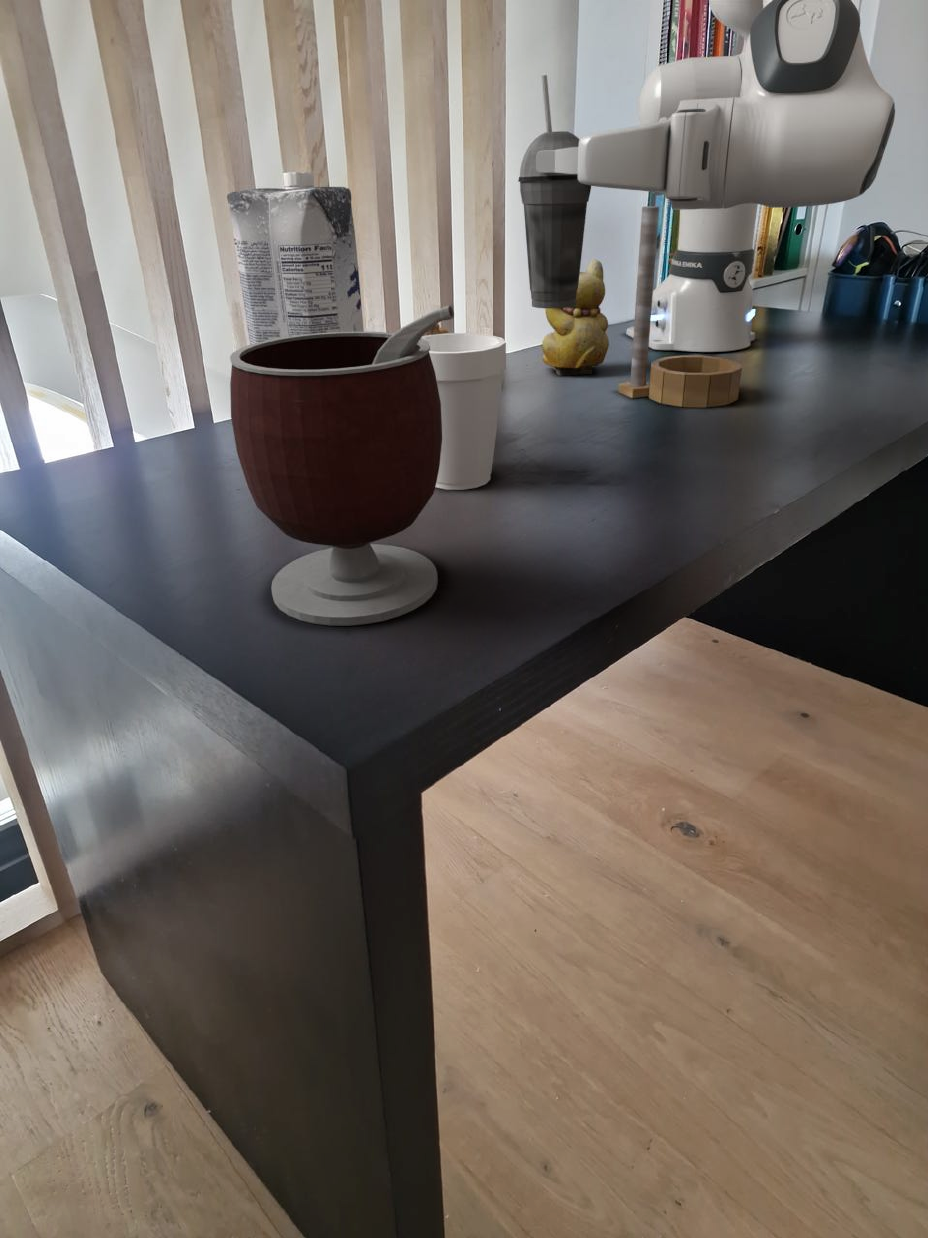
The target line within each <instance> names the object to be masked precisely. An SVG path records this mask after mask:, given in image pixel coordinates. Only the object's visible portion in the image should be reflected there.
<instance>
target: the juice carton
mask: <svg viewBox="0 0 928 1238" xmlns="http://www.w3.org/2000/svg"><path fill="white" fill-rule="evenodd" d="M282 175H283V186H284V188H274V187H273V188H271V187H270V188H269V187H268V188H267V187H266V188H265V187H263V188H252V189H246V190H245V189H244V190H236V191H231V192H230V193H228V194H227V196H226V198H227V202H228V207H229V208H228V209H229V213H230V220H231V226H232V233H233V240H234V241H233V242H234V249H235V254H236V262H237V268H238V275H239V281H240V288H241V295H242V302H243V309H244V316H245V322H246V329H247V334H248V341H249V345H251V344H255V343H258V342H262V341H267V340H271V339H277V338H283V337H289V336H296V335H304V334H315V333H328V332H357V331H360V332H365V329H364V320H363V318H364V317H363V309H362V295H361V285H360V273H359V262H358V250H357V240H356V231H355V223H354V216H353V207H352V191H351V189H350V188H348V187H345V186H315V178H314V177H315V175H314V173H312V172H306V171H305V172H303V171H302V172H300V171H293V172H291V171H289V172H283V174H282Z"/></svg>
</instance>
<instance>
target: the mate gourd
mask: <svg viewBox="0 0 928 1238" xmlns="http://www.w3.org/2000/svg"><path fill="white" fill-rule="evenodd" d="M454 318H455V312H454V308H453V306H452V305H451V304H450V305H446V306H442V307H441V308H438V309H435V310H433V311H431V312H428V313H427V314H425V315H423V316H421V317H420V318H417V319H416V320H413V321H412V322H409V324H406V325H404V326H403V327H402V328H400V329H398V330H397V331H396V332H384V331H383V332H382V331H364V332H360V331H357V332H328V333H315V334H304V335H296V336H289V337H283V338H277V339H271V340H267V341H262V342H258V343H255V344H251V345H250V344H248V345H245V346H243V347H240V348H238V349H236V350H235V351H233V352H232V353H231V355H230V357H229V360H230V363H231V370H230V381H229V382H230V384H229V385H230V388H229V390H230V419H231V425H232V431H233V437H234V443H235V449H236V453H237V457H238V461H239V463H240V467H241V469H242V472H243V475H244V479H245V483H246V485H247V488H248V490H249V492H250V495H251V497H252V499H253V501H254V503H255V507H256V508H257V509H258V510H260V512H261V513H262V514H263V515H264V516H265V517H267V518H268V520H270V521H271V522H272V523H273V524H274V525H275V526H276V527H277V528H278V529H279V530H280V531H281V532H283V534H284V535H285V536H288V537H290V538H291V539H293V540H296V541H299V542H302V543H308V544H313V545H320V546H329V548H324V549H321V550H318V551H313V552H311V553H308V554H305V555H303V556H301V557H298V558H296V559H294V560H292V561H291V562H289V563H288V564H286V565H285V566H283V567H282V568H281V569H280V570H279V571H278V572H277V573H276V574H275V576H274V578H273V579H272V582H271V588H270V590H271V595H272V599H273V603H274V604H275V606H276V607H277V608H278V609H279V611H280V612H282V613H284V614H286V615H287V616H288V617H291V618H294V619H296V620H298V621H302V622H306V623H310V624H315V625H322V626H330V627H331V626H335V627H337V626H341V627H342V626H343V627H344V626H345V627H350V626H360V625H361V626H362V625H369V624H375V623H381V622H384V621H388V620H391V619H394V618H399V617H401V616H402V615H406V614H408V613H410V612H412V611H414V610H416V609H417V608H419V607H421V606H422V605H424V604H425V603H426V602H427V601H429V600H430V599H431V598H432V597H433V595H434V594H435V592H436V590H437V587H438V583H439V581H438V580H439V579H438V571H437V567H436V566H435V564H434V563H433V561H431V560H430V559H429V558H428V557H426V556H425V555H423V554H421V553H419V552H417V551H415V550H411V549H408V548H405V547H401V546H395V545H392V544H391V545H390V544H377V543H374V542H377V541H380V540H383V539H386V538H390V537H392V536H395V535H397V534H399V533H401V532H403V531H405V530H407V529H408V528H409V527H411V526H412V525H413V524H414V522H415V521H416V520H417V518H418V517H419V515H420V514H421V513H422V512H423V510H424V509H425V507H426V505H427V504H428V503H429V501H430V499H432V497H433V495H434V493H435V491H436V487H435V486H436V481H437V477H438V472H439V466H440V456H441V446H442V420H441V402H440V397H439V391H438V386H437V381H436V375H435V371H434V367H433V364H432V360H431V357H430V353H429V351H430V345H429V343H428V342H427V341H425V340H423V339H421V337H422V336H423V335H424V334H425V333H426V332H427V331H428V330H429V329H430V328H431V327H432V326H434V325H435V324H437V323H438V324H439V323H441V322H443V321H449V320H453V319H454Z"/></svg>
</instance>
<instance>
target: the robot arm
mask: <svg viewBox="0 0 928 1238" xmlns="http://www.w3.org/2000/svg"><path fill="white" fill-rule="evenodd" d="M708 4H709V7H710V8H709V9H710V10H711V12H712V14H713V16H714V17H715V18H716V20H718V21H719V22H720V23H721V24H722V25H723V26H724V27H726V28H728V29H730V30H731V31H733V32H735V33H736V34H738V35H739V36H741V37H742V38H743V47H742V50H741V53H739V54H735V55H725V56H724V55H723V56H721V55H720V56H699V57H697V56H696V57H687V58H683V59H678V60H674V61H670V62H667V63H664V64H660V65H658V66H656V67H655V68H654V69H653V70H652V71H651V73H650V74H649V75H648V77H647V78H646V80H645V81H644V84H643V86H642V89H641V92H640V95H639V100H638V119H639V123H640V125H635V126H627V127H622V128H616V129H611V130H605V131H600V132H595V133H591V134H587V135H585V136H584V135H583V136H582V137H581V138H579V139H580V140H579V146H578V147H571V148H565V149H558V150H544V151H539V152H538V153H537V155H536V170H537V172H539V173H564V174H578V181H579V182H580V183H581V184H585V185H590V186H591V187H597V188H605V189H618V190H630V191H641V192H650V193H654V195H655V196H665V199H667V200H668V201H669V202H670V207H671V210H673V211H678V210H679V227H678V229H679V230H678V242H677V243H678V244H677V249H676V250H675V251H674V252H673V253H668V256H671V257H672V258H669V259H667V261H668V262H670V265H669V269H668V274H669V275H668V276H667V277H666V278H665V279H664V280H663V281H662V282H661V283H660V284H659V285H658V286H657V287H656V288H655V289H653V297H652V310H651V323H650V336H649V348H650V349H651V350H657V351H679V352H680V351H681V352H694V353H696V352H698V353H717V352H731V351H737V350H743V349H746V348H748V347H750V346H751V342H753V341H755V340H756V332H754V331H752V326H753V325H752V321H753V317H755V315H756V309H755V308H754V309H753V299H754V298H753V296H754V289H753V286H752V284H751V283H750V275H752V274H753V267H754V264H755V249H754V248H753V243H754V235H755V226H756V220H757V211H758V210H757V209H758V205H761V206H764V207H767V208H774V209H776V208H777V209H780V208H782V209H783V208H804V207H815V206H825V205H831V204H832V205H833V204H838V203H841V202H843V203H844V202H846V201H849V200H853V199H855V198H857V197H860V196H862V195H863V194H864V193H865V192H866V191H867V190H868V189H870V187H871V186H872V185H873V183H874V182H875V180H876V177H877V174H878V171H879V169H880V166H881V163H882V160H883V157H884V153H885V150H886V148H887V145H888V142H889V140H890V139H889V138H890V136H891V134H892V129H893V126H894V123H895V118H896V117H895V116H896V107H895V104H896V103H895V101H894V98H893V97H892V96H891V94H890V93H888V92H887V91H885V90H884V89H883V88H882V87H881V86H880V85H879V83H878V81H877V80H876V78H875V76H874V74H873V72H872V69H871V67H870V64H869V61H868V58H867V54H866V50H865V46H864V42H863V37H862V32H861V16H860V12H859V10H858V8H857V6H856V5H855V3H854V2H853V1H852V0H708ZM626 335H627V336H629V337H630V338H632V339H633V335H634V326H631V327H627V329H626Z"/></svg>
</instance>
